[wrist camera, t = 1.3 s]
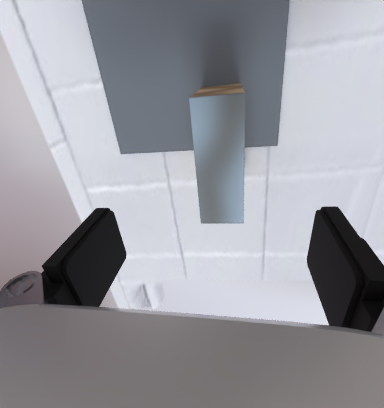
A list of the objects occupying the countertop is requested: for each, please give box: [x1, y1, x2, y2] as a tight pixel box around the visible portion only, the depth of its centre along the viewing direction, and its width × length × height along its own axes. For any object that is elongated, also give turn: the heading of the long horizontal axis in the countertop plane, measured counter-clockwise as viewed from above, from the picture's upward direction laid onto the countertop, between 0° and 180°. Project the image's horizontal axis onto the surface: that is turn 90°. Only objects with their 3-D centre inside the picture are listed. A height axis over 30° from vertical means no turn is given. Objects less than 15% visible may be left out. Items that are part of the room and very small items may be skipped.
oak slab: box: [189, 84, 245, 223], centre depth 21 cm, size 4×10×8 cm, turn 6°
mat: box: [82, 0, 289, 154], centre depth 22 cm, size 17×14×1 cm
